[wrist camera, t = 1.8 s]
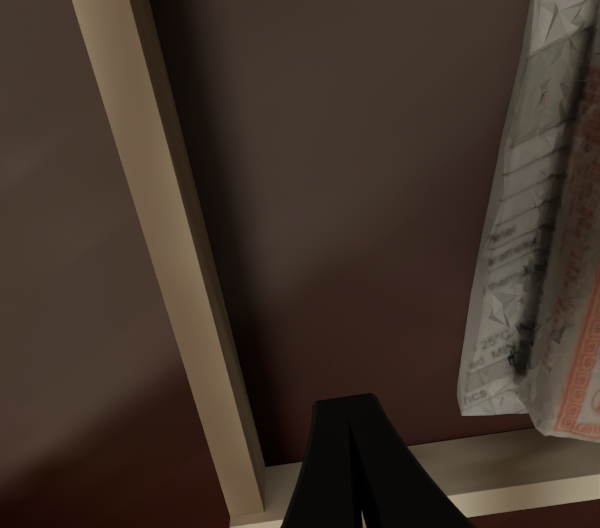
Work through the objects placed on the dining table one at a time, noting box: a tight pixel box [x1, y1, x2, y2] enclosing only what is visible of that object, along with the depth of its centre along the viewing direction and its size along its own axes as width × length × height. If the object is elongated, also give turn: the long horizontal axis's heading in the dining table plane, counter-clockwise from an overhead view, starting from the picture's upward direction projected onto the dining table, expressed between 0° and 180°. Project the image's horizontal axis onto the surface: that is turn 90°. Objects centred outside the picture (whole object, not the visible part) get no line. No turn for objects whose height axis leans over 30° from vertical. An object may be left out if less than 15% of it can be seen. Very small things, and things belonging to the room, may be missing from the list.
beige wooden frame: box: [72, 0, 600, 528], centre depth 18 cm, size 26×24×3 cm
